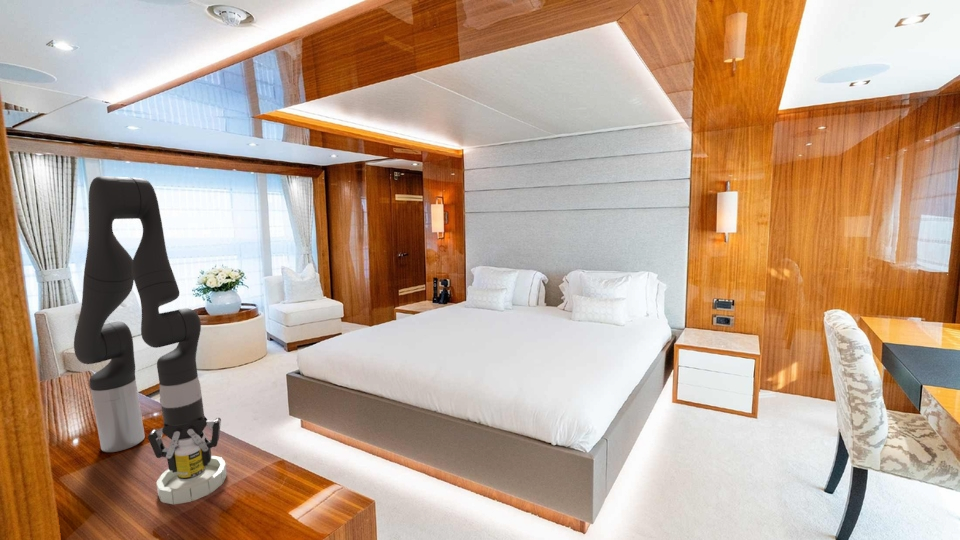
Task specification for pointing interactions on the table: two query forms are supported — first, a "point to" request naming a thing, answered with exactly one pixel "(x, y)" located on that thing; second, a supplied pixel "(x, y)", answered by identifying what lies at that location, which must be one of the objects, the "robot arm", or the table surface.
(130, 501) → the table surface
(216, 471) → the sage bowl
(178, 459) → the supplement bottle
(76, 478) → the table surface
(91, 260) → the robot arm
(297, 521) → the table surface
